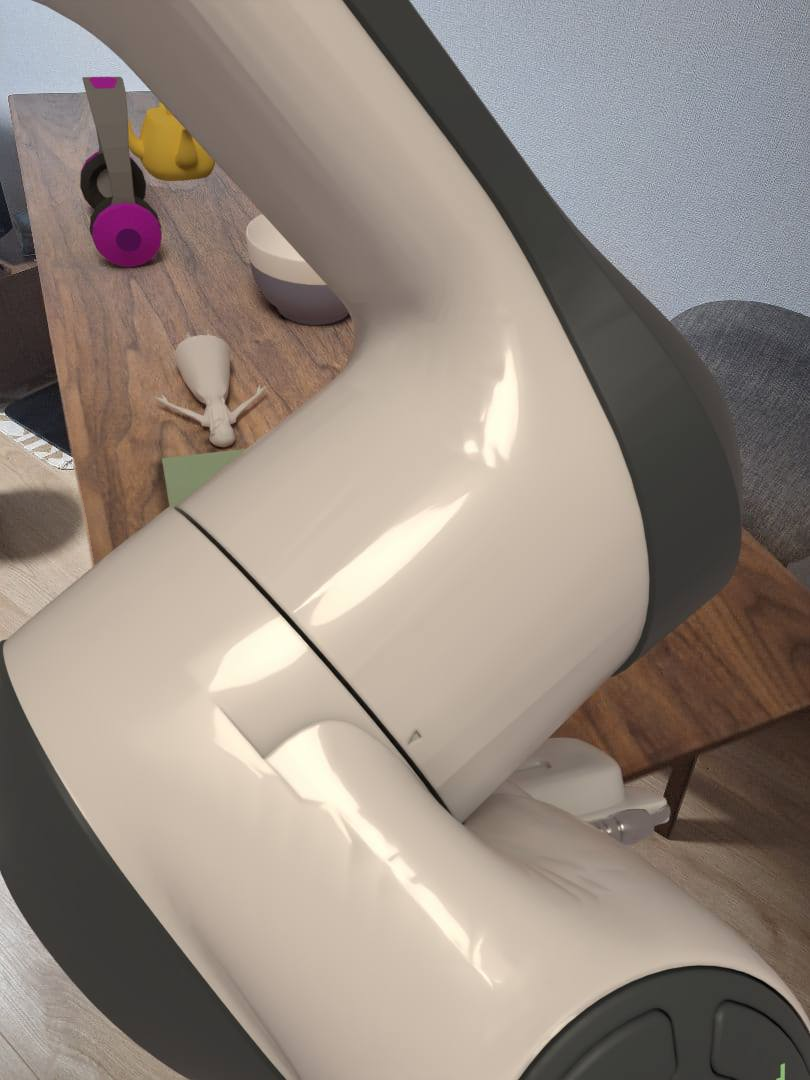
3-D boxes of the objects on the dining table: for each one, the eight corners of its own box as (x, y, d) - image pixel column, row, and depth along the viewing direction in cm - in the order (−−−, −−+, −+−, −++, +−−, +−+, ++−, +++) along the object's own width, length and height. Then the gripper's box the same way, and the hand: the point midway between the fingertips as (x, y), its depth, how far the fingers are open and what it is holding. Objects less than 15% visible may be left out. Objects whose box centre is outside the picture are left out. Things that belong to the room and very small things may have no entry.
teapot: (116, 176, 140) (106, 107, 133) (164, 149, 149) (158, 84, 143) (194, 194, 137) (188, 125, 130) (239, 166, 146) (235, 101, 140)
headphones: (167, 269, 118) (150, 105, 105) (97, 274, 115) (70, 107, 102) (146, 205, 132) (129, 54, 119) (83, 209, 130) (58, 55, 116)
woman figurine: (250, 318, 101) (283, 418, 89) (251, 352, 104) (283, 453, 92) (142, 326, 98) (161, 431, 86) (146, 361, 101) (165, 467, 89)
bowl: (360, 349, 107) (364, 272, 100) (230, 326, 108) (225, 249, 102) (389, 289, 118) (394, 217, 112) (271, 269, 120) (270, 197, 114)
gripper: (680, 727, 32) (530, 689, 45) (69, 858, 27) (103, 773, 40) (708, 906, 32) (549, 816, 45) (99, 1074, 27) (123, 916, 40)
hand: (336, 796), depth 43 cm, fingers open, 8 cm apart
